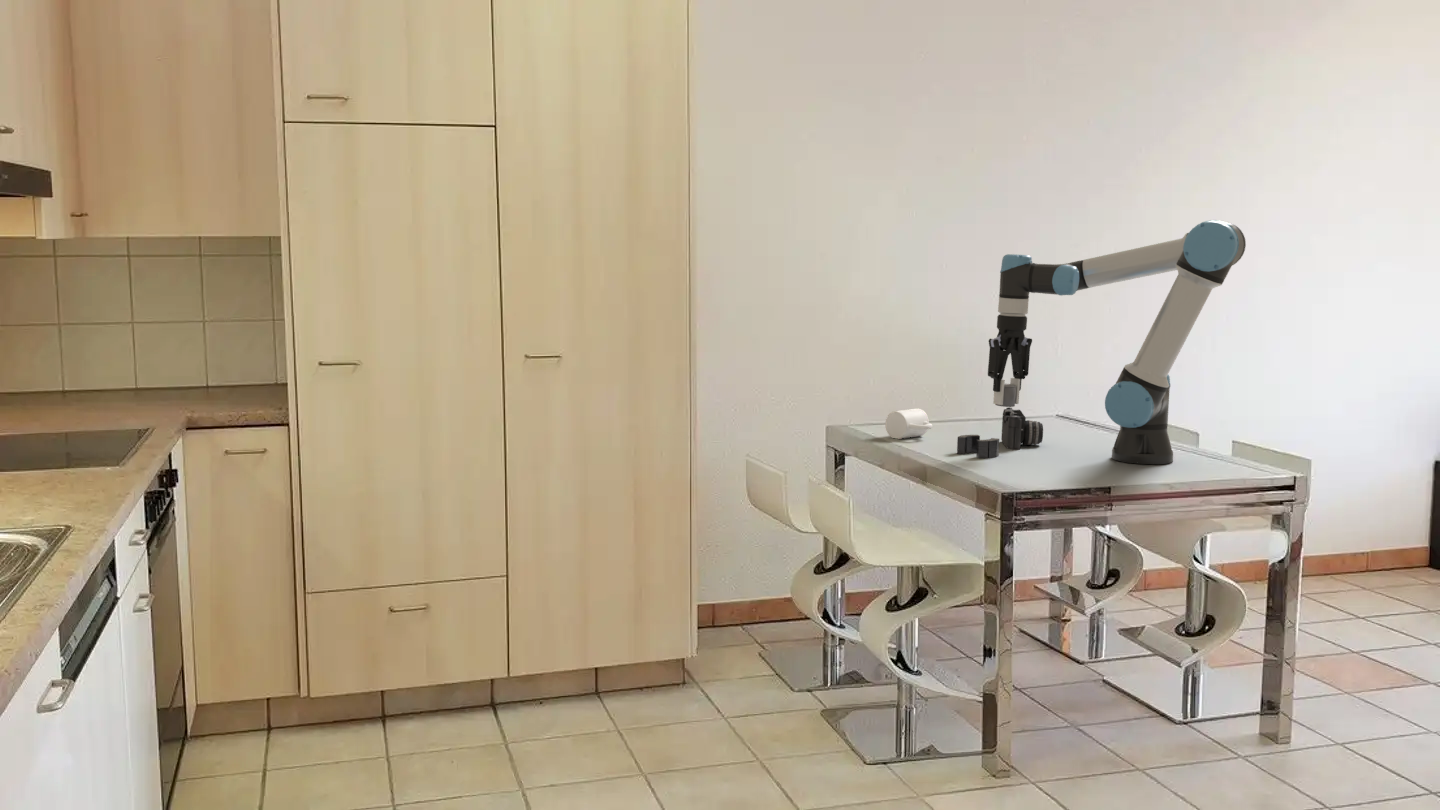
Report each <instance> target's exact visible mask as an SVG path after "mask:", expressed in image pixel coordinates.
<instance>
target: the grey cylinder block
mask: <svg viewBox="0 0 1440 810" xmlns="http://www.w3.org/2000/svg"><path fill="white" fill-rule="evenodd" d="M1015 397H1016V385H1013V384H1010V383H1004V396H1003V405H998V404H995V406H998V407H1003V408H1005V407H1006V408H1008V407H1010V408H1013V407H1015V406H1016V404H1015Z"/></svg>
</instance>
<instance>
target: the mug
mask: <svg viewBox="0 0 1440 810" xmlns="http://www.w3.org/2000/svg"><path fill="white" fill-rule="evenodd" d="M884 424H885V430H886V433H887V434H888V436H889V437H890V438H892V439H893V438H898V439H897V440H903V439H902V438H904V439H909V438H910V437H911V438H918V437H921V436H923V435H925V434H926V433H927V431H928V430H931V429H932V428H933V424H932V423H930V420H929V416H928V414H927V413H926V412H925V410H923V409H921V408H911V409H901V410H896V411H891V412H890V413H889V414H888V415H887V416H886V418H885V422H884Z"/></svg>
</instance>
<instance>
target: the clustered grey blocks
mask: <svg viewBox="0 0 1440 810" xmlns="http://www.w3.org/2000/svg"><path fill="white" fill-rule="evenodd" d="M956 440H957V441H956V443H957V445H956V446H957V447H956V454H957V455H966V454H969V453H970V454H971V453H976V458H977V459H992V458H997V457H999V455H1000V438H995V437H991V438H988V439H981V435H979V434H963V435H959V436H957V439H956Z"/></svg>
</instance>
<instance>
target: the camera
mask: <svg viewBox="0 0 1440 810" xmlns="http://www.w3.org/2000/svg"><path fill="white" fill-rule="evenodd" d="M1001 419H1002V421H1001V443H1003V445H1004V446H1005V447H1006V448H1007V450H1012V451H1013V450H1014V451H1018V450H1019V451H1020V450H1021V445H1027V446H1030V445H1039V444H1040V443H1042V442H1043V437H1044V427H1043V426H1044V425H1043V423H1041V422H1040V421H1037V420H1034V421H1033V420H1030V419H1027V417H1026V416H1025V414H1024V413H1023V412H1022V410H1021V409H1013V407H1006V408H1004V409H1003V412H1002V418H1001ZM1026 419H1027V420H1026Z"/></svg>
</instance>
